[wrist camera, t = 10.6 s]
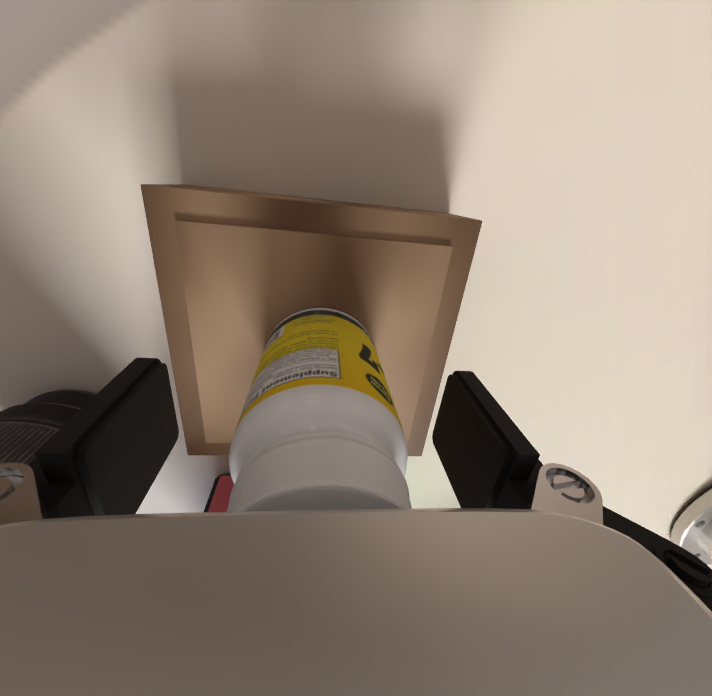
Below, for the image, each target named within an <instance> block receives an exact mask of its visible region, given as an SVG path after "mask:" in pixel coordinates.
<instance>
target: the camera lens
mask: <svg viewBox="0 0 712 696" xmlns="http://www.w3.org/2000/svg"><path fill="white" fill-rule="evenodd" d="M95 396H96V395H95V394H92V393H87V392H82V391H72V390H59V391H53V392H48V393H44V394H42V395H39V396H37V397H35V398H33V399H31V400H30V401H28V402H27V403H25V404H22V405H17V406H13V407H10V408H7V409H5V410H3V411H1V412H0V464H4V463H12V462H13V463H24V464H26V465H28V464H29V463H30V462H31V461H32V460H33V459H34V458H35V457H36V455H35V453H34V452H35V451H37V450H38V449H39V448H40V447H41V446H42V445H43V444H44V443H45V442H46V441H47V440H48V439H49V438H51V437H52V436H53V435H54V434H55V433H56V432H57V431H58V430H59V429H60V428H61V427H62V426H63V425H65V424H66V423H67V422H68V421H69V420H70V419H71V418H72V417H73V416H74V415H75V414H76V413H77V412H78V411H80V410H81V409H82V408H83V407H84V406H85V405H86V404H87V403H88V402H89V401H90V400H91V399H92V398H94V397H95Z"/></svg>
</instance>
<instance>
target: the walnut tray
mask: <svg viewBox="0 0 712 696" xmlns="http://www.w3.org/2000/svg"><path fill="white" fill-rule="evenodd" d="M141 190H142V195H143V201H144V207H145V213H146V218H147V224H148V230H149V236H150V241H151V247H152V253H153V258H154V264H155V270H156V276H157V281H158V287H159V293H160V298H161V304H162V310H163V316H164V321H165V327H166V333H167V338H168V344H169V350H170V356H171V361H172V367H173V373H174V379H175V384H176V390H177V396H178V401H179V407H180V413H181V419H182V424H183V430H184V436H185V441H186V447H187V453H188V455H229V453H230V447H231V443H232V438H233V435H234V432H235V429H236V426H237V424H238V421H239V418H240V415H241V412H242V410H243V407H244V404H245V401H246V398H247V395H248V392H249V390H250V387H251V384H252V381H253V378H254V376H255V373H256V370H257V367H258V364H259V361H260V359H261V356H262V353H263V350H264V347H265V345H266V343H267V340H268V338H269V336H270V334H271V333H272V331H273V330H274V329H275V328H276V326H277V325H278V324H279V323H281V322H282V321H283V320H284V319H286V318H287V317H289V316H291V315H292V314H295V313H297V312H299V311H302V310H306V309H311V308H329V309H334V310H338V311H341V312H344V313H346V314H348V315H350V316H351V317H353V318H354V319H356V320H357V321H358V322H359V323H360V324H361V325H362V326H363V327H364V328H365V329H366V330H367V332H368V333H369V335H370V337H371V339H372V341H373V343H374V346H375V349H376V351H377V354H378V358H379V361H380V363H381V366H382V370H383V372H384V375H385V378H386V381H387V384H388V387H389V390H390V393H391V396H392V399H393V402H394V405H395V408H396V410H397V413H398V416H399V419H400V422H401V425H402V428H403V431H404V435H405V440H406V445H407V456H422V452H423V448H424V444H425V440H426V436H427V433H428V429H429V425H430V421H431V417H432V413H433V409H434V406H435V402H436V398H437V394H438V390H439V386H440V382H441V379H442V375H443V371H444V367H445V363H446V359H447V355H448V352H449V348H450V344H451V340H452V336H453V332H454V328H455V325H456V321H457V317H458V313H459V309H460V305H461V301H462V298H463V294H464V290H465V286H466V282H467V278H468V274H469V270H470V267H471V263H472V259H473V255H474V251H475V247H476V243H477V240H478V236H479V232H480V228H481V224H482V221H480V220H476V219H471V218H467V217H462V216H458V215H453V214H448V213H438V212H429V211H420V210H411V209H401V208H392V207H383V206H374V205H365V204H355V203H346V202H337V201H328V200H319V199H309V198H300V197H291V196H282V195H273V194H263V193H254V192H245V191H236V190H227V189H217V188H208V187H199V186H190V185H156V184H141Z"/></svg>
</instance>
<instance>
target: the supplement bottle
mask: <svg viewBox="0 0 712 696" xmlns="http://www.w3.org/2000/svg"><path fill="white" fill-rule="evenodd" d="M406 466H407V445H406V440H405V435H404V431H403V428H402V425H401V422H400V419H399V416H398V413H397V410H396V408H395V405H394V402H393V399H392V396H391V393H390V390H389V387H388V384H387V381H386V378H385V375H384V372H383V370H382V366H381V363H380V361H379V358H378V354H377V351H376V349H375V346H374V343H373V341H372V339H371V337H370V335H369V333H368V332H367V330H366V329H365V328H364V327H363V326H362V325H361V324H360V323H359V322H358V321H357V320H356V319H354V318H353V317H351V316H350V315H348V314H346V313H344V312H341V311H338V310H334V309H329V308H311V309H306V310H302V311H299V312H297V313H295V314H292V315H291V316H289V317H287V318H286V319H284V320H283V321H282V322H281V323H279V324H278V325H277V326H276V328H275V329H274V330H273V331H272V333H271V334H270V336H269V338H268V340H267V343H266V345H265V347H264V350H263V353H262V356H261V359H260V361H259V364H258V367H257V370H256V373H255V376H254V378H253V381H252V384H251V387H250V390H249V392H248V395H247V398H246V401H245V404H244V407H243V410H242V412H241V415H240V418H239V421H238V424H237V426H236V429H235V432H234V435H233V438H232V443H231V447H230V453H229V468H230V473H231V478H232V480H233V483H234V486H233V488H232V491H231V494H230V499H229V505H228V508H227V512H245V511H297V510H355V509H412V508H411V503H410V499H409V491H408V486H407V483H406V480H405V478H404V475H405V471H406Z"/></svg>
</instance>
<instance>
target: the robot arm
mask: <svg viewBox="0 0 712 696" xmlns="http://www.w3.org/2000/svg"><path fill="white" fill-rule="evenodd" d="M178 432H179V431H178V424H177V419H176V414H175V408H174V403H173V397H172V392H171V386H170V381H169V375H168V370H167V366H166V364H164V363H161V361H160V360H159V359H157V358H136V359H134V360H133V361H132V362H131V363H130V364H129V365H128V366H127V367H126V368H125V369H124V370H123V371H122V372H120V373H119V374H118V375H117V376H116V377H115V378H114V379H113V380H112V381H111V382H110V383H109V384H108V385H106V386H105V387H104V388H103V389H102V390H101V391H100V392H99V393H98V394H97V395H96V396H95V397H94V398H92V399H91V400H90V401H89V402H88V403H87V404H86V405H85V406H84V407H83V408H82V409H81V410H80V411H78V412H77V413H76V414H75V415H74V416H73V417H72V418H71V419H70V420H69V421H68V422H67V423H66V424H65V425H63V426H62V427H61V428H60V429H59V430H58V431H57V432H56V433H55V434H54V435H53V436H52V437H51V438H49V439H48V440H47V441H46V442H45V443H44V444H43V445H42V446H41V447H40V448H39V449H38V450H37V451H35V452H34V453H35V455H36V457H35V458H34V459H33V460H32V461H31V462H30V463H29V464H28V465H26V464H24V463H13V462H12V463H4V464H0V696H712V570H711V569H710V568H709V567H708V566H707V565H706V564H712V488H711V489H709V490H708V491H707V492H705V493H704V494H702V495H701V496H700V497H698V498H697V499H696V500H695V501H694V502H693V503H691V504H690V505H689V506H688V507H687V508H686V509H685V510H684V512H683V513H682V514H681V515H680V516H679V518H678V519H677V521H676V522H675V524H674V526H673V529H672V532H671V541H669V540H667V539H665V538H663V537H661V536H659V535H657V534H655V533H654V532H652V531H650V530H648V529H646V528H644V527H642V526H640V525H638V524H636V523H634V522H632V521H631V520H629V519H627V518H625V517H623V516H621V515H619V514H617V513H615V512H613V511H611V510H610V509H608V508H606V507H604V506H603V505H602V497H601V493H600V492H599V490H598V489H597V487H596V486H595V485H594V484H593V483H592V482H591V481H590V480H589V479H588V478H587V477H585V476H584V475H583V474H581V473H580V472H578V471H576V470H574V469H572V468H570V467H567V466H564V465H561V464H555V463H550V464H545V465H543V464H542V463H541V462H540V461H539V459H538V458H539V456H540V454H539V453H538V452H537V451H536V450H535V448H534V447H533V446H532V445H531V443H530V442H529V441H528V440H527V438H526V437H525V436H524V435H523V433H522V432H521V431H520V430H519V429H518V427H517V426H516V425H515V424H514V422H513V421H512V420H511V419H510V417H509V416H508V415H507V414H506V412H505V411H504V410H503V409H502V408H501V406H500V405H499V404H498V403H497V401H496V400H495V399H494V398H493V396H492V395H491V394H490V393H489V391H488V390H487V389H486V388H485V387H484V385H483V384H482V383H481V382H480V380H479V379H478V378H477V377H476V375H475V374H474V373H473V372H471V371H455V372H454V373H453V375H449V376H448V379H447V382H446V386H445V390H444V393H443V397H442V401H441V405H440V408H439V412H438V416H437V419H436V423H435V427H434V431H433V436H432V438H433V444H434V446H435V448H436V451H437V453H438V455H439V458H440V460H441V462H442V465H443V467H444V469H445V472H446V474H447V476H448V479H449V481H450V483H451V485H452V488H453V490H454V492H455V495H456V497H457V499H458V502H459V504H460V506H461V508H434V509H355V510H297V511H245V512H203V513H160V514H135V513H136V512H137V510H138V508H139V506H140V505H141V503H142V501H143V499H144V498H145V496H146V494H147V492H148V491H149V489H150V487H151V485H152V484H153V482H154V480H155V478H156V476H157V475H158V473H159V471H160V469H161V468H162V466H163V464H164V462H165V461H166V459H167V457H168V455H169V454H170V452H171V450H172V448H173V446H174V445H175V443H176V441H177V438H178Z"/></svg>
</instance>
